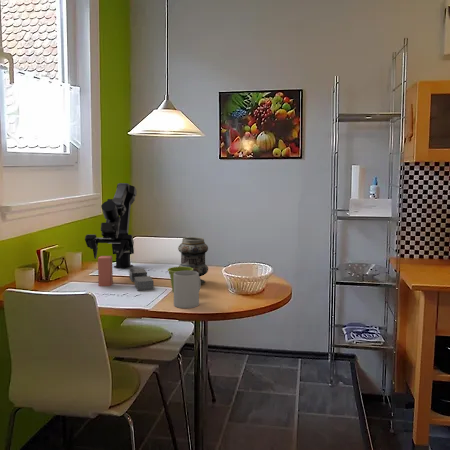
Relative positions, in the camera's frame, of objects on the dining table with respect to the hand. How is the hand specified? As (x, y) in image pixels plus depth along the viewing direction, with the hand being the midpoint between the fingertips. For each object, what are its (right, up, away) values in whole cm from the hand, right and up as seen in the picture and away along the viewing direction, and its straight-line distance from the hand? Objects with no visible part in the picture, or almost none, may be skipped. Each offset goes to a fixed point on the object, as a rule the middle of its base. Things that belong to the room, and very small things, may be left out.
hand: (106, 258), depth 204 cm
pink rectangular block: (0, -10, -1) cm, 10 cm away
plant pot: (+30, -12, -12) cm, 35 cm away
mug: (+35, -14, -28) cm, 46 cm away
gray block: (+13, -10, +1) cm, 17 cm away
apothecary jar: (+34, -10, +2) cm, 36 cm away
